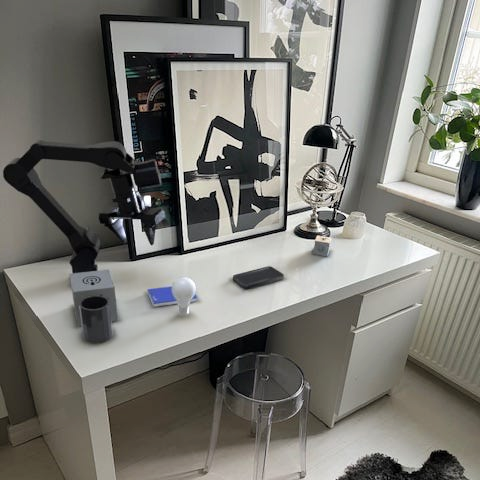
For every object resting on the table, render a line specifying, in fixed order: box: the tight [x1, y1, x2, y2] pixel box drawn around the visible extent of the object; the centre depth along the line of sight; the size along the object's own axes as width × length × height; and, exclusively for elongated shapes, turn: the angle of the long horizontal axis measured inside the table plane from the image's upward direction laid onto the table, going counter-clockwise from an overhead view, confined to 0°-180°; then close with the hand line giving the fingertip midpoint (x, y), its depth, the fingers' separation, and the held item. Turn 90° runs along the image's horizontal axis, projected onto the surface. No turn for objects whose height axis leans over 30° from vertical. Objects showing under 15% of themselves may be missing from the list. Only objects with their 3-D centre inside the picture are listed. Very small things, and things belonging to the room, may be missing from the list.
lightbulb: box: [171, 277, 197, 317], centre depth 132 cm, size 6×6×11 cm
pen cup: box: [79, 295, 113, 344], centre depth 122 cm, size 7×7×10 cm
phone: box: [232, 265, 285, 290], centre depth 155 cm, size 8×1×15 cm
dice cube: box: [312, 234, 332, 257], centre depth 174 cm, size 5×5×5 cm
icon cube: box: [69, 269, 118, 327], centre depth 130 cm, size 10×10×10 cm
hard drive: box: [146, 285, 198, 308], centre depth 142 cm, size 2×8×12 cm
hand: (138, 244), depth 143 cm, fingers open, 9 cm apart
